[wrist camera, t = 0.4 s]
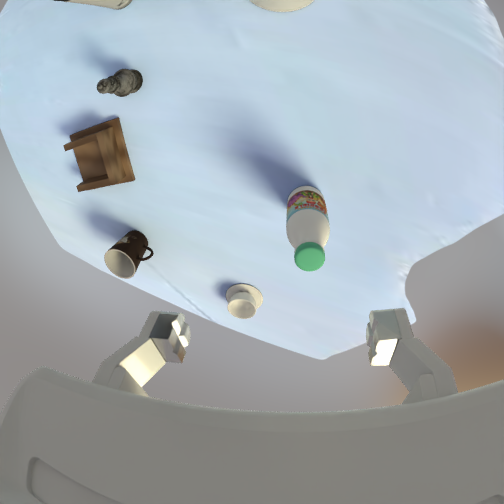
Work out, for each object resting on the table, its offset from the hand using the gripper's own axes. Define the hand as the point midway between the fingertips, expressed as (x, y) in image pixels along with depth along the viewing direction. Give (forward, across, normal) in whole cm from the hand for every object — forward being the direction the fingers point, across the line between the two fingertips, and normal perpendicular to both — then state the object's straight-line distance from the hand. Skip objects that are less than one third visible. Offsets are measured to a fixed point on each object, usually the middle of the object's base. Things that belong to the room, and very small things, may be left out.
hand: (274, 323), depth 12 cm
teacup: (+46, +15, +43) cm, 65 cm away
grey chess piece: (+46, +30, -14) cm, 57 cm away
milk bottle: (+46, -2, +17) cm, 49 cm away
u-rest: (+46, +42, 0) cm, 63 cm away
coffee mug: (+46, +39, +24) cm, 65 cm away
